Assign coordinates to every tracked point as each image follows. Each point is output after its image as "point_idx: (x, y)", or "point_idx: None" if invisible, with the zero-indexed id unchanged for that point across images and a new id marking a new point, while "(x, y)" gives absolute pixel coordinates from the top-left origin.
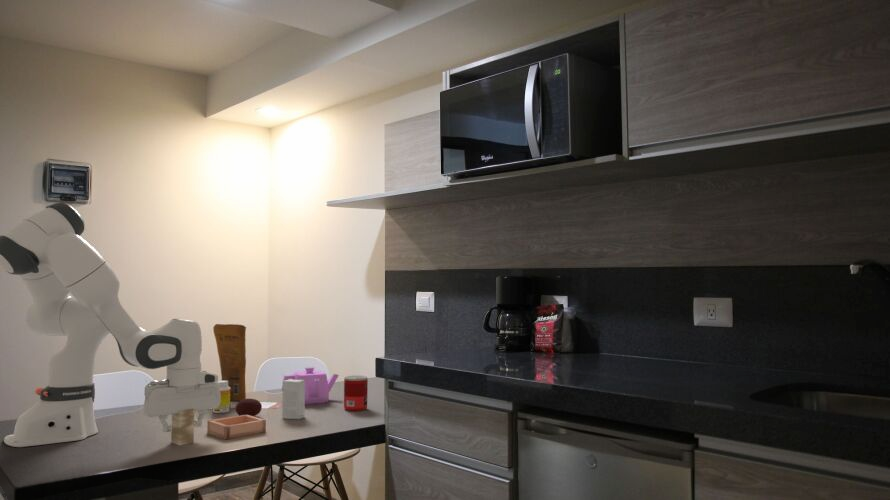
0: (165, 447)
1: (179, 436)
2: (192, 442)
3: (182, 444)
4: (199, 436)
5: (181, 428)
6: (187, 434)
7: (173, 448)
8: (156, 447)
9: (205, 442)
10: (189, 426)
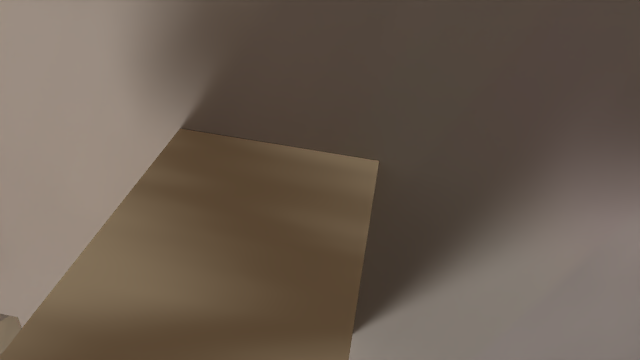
0: (557, 206)
1: (365, 233)
2: (194, 132)
3: (333, 153)
4: (30, 294)
5: (311, 324)
6: (229, 217)
7: (540, 76)
8: (614, 285)
9: (49, 11)
10: (144, 304)
